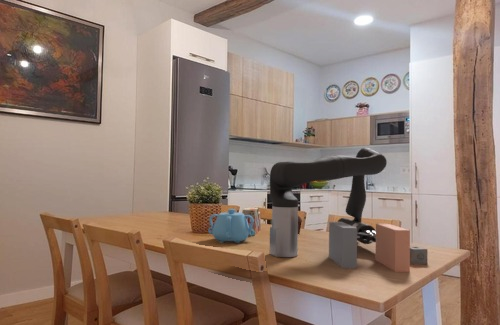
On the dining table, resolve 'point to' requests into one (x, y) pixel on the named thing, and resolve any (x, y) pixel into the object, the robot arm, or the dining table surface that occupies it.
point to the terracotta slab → (393, 247)
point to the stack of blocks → (256, 217)
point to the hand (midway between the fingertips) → (381, 240)
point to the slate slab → (343, 244)
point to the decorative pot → (231, 226)
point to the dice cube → (418, 255)
